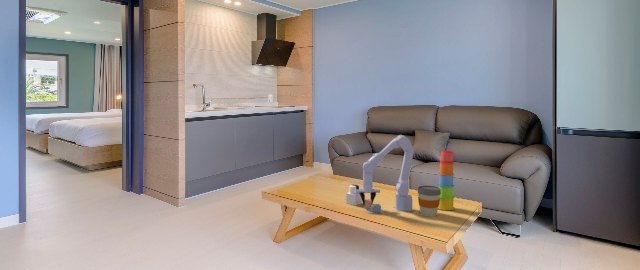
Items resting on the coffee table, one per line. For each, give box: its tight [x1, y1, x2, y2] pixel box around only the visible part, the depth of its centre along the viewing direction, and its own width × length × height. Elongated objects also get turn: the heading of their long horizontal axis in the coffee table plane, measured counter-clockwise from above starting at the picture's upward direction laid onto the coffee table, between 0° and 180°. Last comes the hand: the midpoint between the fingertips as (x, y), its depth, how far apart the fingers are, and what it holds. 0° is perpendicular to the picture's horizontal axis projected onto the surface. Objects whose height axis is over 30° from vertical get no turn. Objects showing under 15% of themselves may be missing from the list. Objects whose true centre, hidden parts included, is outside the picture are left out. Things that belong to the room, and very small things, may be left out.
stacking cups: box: [437, 150, 456, 211], centre depth 217 cm, size 10×10×35 cm
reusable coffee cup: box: [417, 185, 441, 217], centre depth 208 cm, size 13×13×15 cm
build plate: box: [363, 207, 385, 214], centre depth 214 cm, size 10×10×1 cm
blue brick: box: [372, 203, 382, 214], centre depth 211 cm, size 4×4×4 cm
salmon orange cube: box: [363, 198, 373, 208], centre depth 217 cm, size 4×4×4 cm
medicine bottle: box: [345, 184, 363, 207], centre depth 227 cm, size 7×7×12 cm
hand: (367, 204), depth 217 cm, fingers closed on salmon orange cube, 4 cm apart
